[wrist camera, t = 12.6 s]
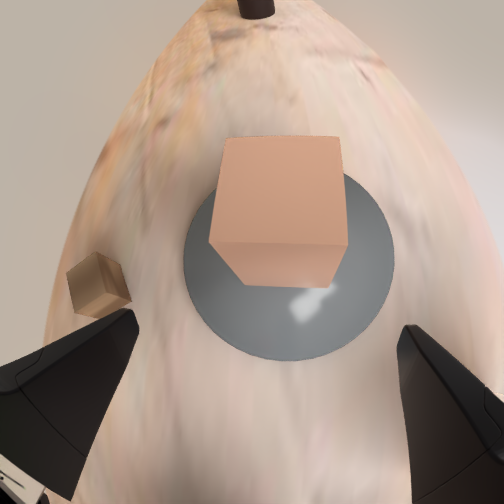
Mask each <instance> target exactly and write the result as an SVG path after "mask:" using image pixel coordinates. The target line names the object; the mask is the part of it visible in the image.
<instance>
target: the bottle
mask: <svg viewBox="0 0 504 504" xmlns="http://www.w3.org/2000/svg"><path fill="white" fill-rule="evenodd" d="M237 2H238V6H239V10H240V14H241V16H242V17H243V18H245V19H262V18H266V17H269V16H272V15H273V14H274V13H275V7H274V0H237Z"/></svg>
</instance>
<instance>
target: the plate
mask: <svg viewBox="0 0 504 504" xmlns="http://www.w3.org/2000/svg"><path fill="white" fill-rule="evenodd" d="M343 174H344V173H343ZM344 185H345V197H346V211H347V229H348V247H347V249H346V251H345V253H344V256H343V258H342V260H341V262H340V264H339V267H338V269H337V271H336V273H335V275H334V277H333V279H332V281H331V283H330V286H329V288H299V287H274V286H252V285H244V283H243V282H242V281H241V280H240V279H239V278H238V276H237V275H236V274H235V273H234V272H233V270H232V269H231V268H230V267H229V266H228V264H227V263H226V262H225V261H224V260H223V259H222V257H221V256H220V255H219V254H218V253H217V251H216V250H215V249H214V248H213V247H212V245H211V244H210V243H209V235H210V229H211V222H212V216H213V209H214V203H215V197H216V191H217V188H216V189H215V190H214V191H213V192H212V193H211V194H210V195H209V196H208V198H207V199H206V200H205V201H204V203H203V204H202V205H201V207H200V208H199V210H198V211H197V213H196V215H195V217H194V219H193V221H192V223H191V226H190V229H189V231H188V234H187V239H186V243H185V249H184V274H185V280H186V285H187V288H188V292H189V295H190V298H191V300H192V302H193V304H194V306H195V308H196V310H197V311H198V313H199V314H200V316H201V317H202V319H203V320H204V322H205V323H206V324H207V325H208V326H209V327H210V328H211V329H212V331H213V332H214V333H216V334H217V335H218V336H219V337H220V338H222V339H223V340H224V341H225V342H227V343H229V344H230V345H232V346H233V347H235V348H237V349H239V350H241V351H243V352H245V353H248V354H250V355H253V356H257V357H260V358H264V359H269V360H277V361H300V360H306V359H312V358H316V357H319V356H322V355H326V354H328V353H330V352H333V351H335V350H337V349H339V348H341V347H343V346H344V345H346V344H347V343H349V342H350V341H352V340H353V339H355V338H356V337H357V336H358V335H359V334H360V333H361V332H363V331H364V330H365V329H366V328H367V327H368V325H369V324H370V323H371V322H372V321H373V319H374V318H375V317H376V315H377V314H378V312H379V311H380V309H381V307H382V306H383V304H384V302H385V299H386V297H387V295H388V292H389V289H390V286H391V282H392V278H393V271H394V247H393V240H392V236H391V232H390V229H389V226H388V223H387V221H386V219H385V217H384V214H383V213H382V211H381V209H380V208H379V206H378V204H377V203H376V202H375V200H374V199H373V198H372V197H371V195H370V194H369V193H368V192H367V191H366V190H365V189H364V188H363V187H362V186H361V185H360V184H358V183H357V182H356V181H354V180H353V179H352V178H350V177H349V176H347V175H346V174H344Z"/></svg>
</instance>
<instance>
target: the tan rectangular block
mask: <svg viewBox="0 0 504 504" xmlns="http://www.w3.org/2000/svg"><path fill="white" fill-rule="evenodd" d="M209 243H210V244H211V245H212V247H213V248H214V249H215V250H216V251H217V253H218V254H219V255H220V256H221V257H222V259H223V260H224V261H225V262H226V263H227V264H228V266H229V267H230V268H231V269H232V270H233V272H234V273H235V274H236V275H237V276H238V278H239V279H240V280H241V281H242V282H243V283H244V285H252V286H274V287H299V288H329V286H330V283H331V281H332V279H333V277H334V275H335V273H336V271H337V269H338V267H339V264H340V262H341V260H342V258H343V256H344V253H345V251H346V249H347V247H348V229H347V211H346V197H345V185H344V174H343V165H342V156H341V147H340V139H339V137H332V136H256V137H237V138H226V141H225V146H224V151H223V157H222V162H221V168H220V173H219V179H218V185H217V191H216V197H215V203H214V209H213V216H212V222H211V229H210V235H209Z"/></svg>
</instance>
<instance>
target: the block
mask: <svg viewBox="0 0 504 504" xmlns="http://www.w3.org/2000/svg"><path fill="white" fill-rule="evenodd" d="M66 274H67V280H68V285H69V290H70V294H71V299H72V303H73V308H74V312H75V313H78V314H82V315H86V316H90V317H94V318H98V319H101V318H103V317H105V316H107V315H109V314H111V313H113V312H115V311H116V310H118V309H120V308H121V307H123V306H125V305H126V304H128V303H130V302H132V300H131V297H130V294H129V291H128V288H127V285H126V282H125V279H124V276H123V273H122V269H121V266H120V264H118V263H116V262H114V261H112V260H110V259H109V258H107V257H105V256H103V255H101V254H100V253H98V252H94V253H93V254H91V255H90V256H89V257H87V258H86V259H84V260H83V261H82V262H80V263H79V264H78V265H76V266H75V267H74V268H72V269H71V270H70V271H68V272H67V273H66Z"/></svg>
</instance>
